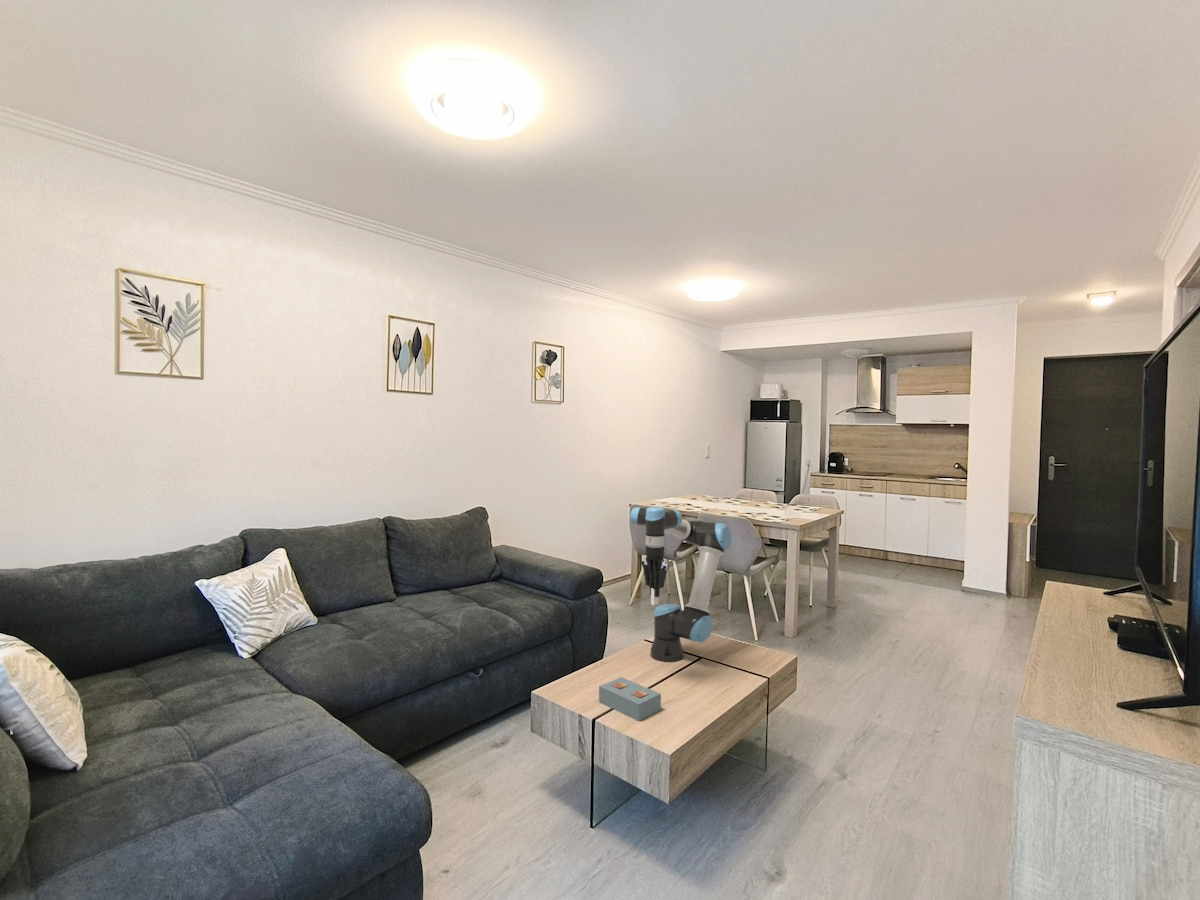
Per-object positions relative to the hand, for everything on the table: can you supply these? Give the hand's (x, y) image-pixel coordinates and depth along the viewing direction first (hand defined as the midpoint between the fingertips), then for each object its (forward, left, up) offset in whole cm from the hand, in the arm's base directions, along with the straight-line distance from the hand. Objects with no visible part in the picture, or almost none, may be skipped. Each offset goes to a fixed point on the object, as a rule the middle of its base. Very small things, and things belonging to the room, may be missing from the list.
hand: (654, 604), depth 226 cm
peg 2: (+21, +11, -32) cm, 40 cm away
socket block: (+21, +6, -32) cm, 39 cm away
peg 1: (+21, +1, -32) cm, 38 cm away
